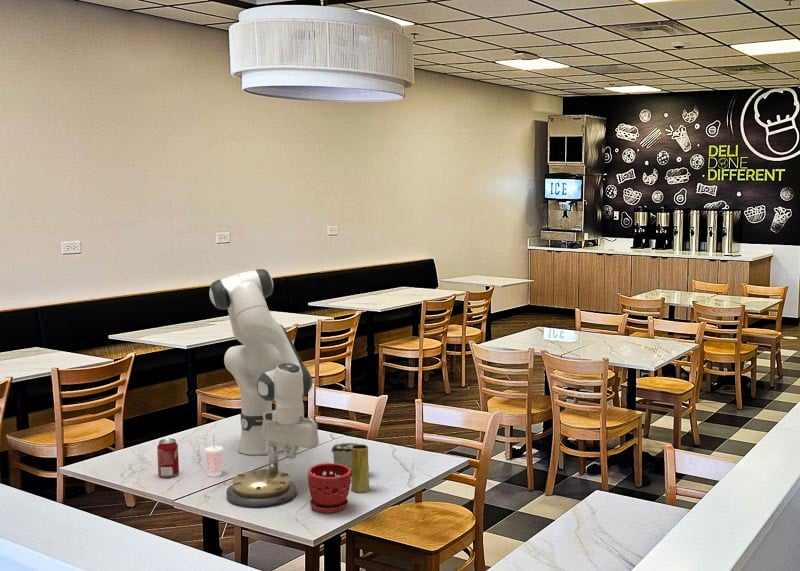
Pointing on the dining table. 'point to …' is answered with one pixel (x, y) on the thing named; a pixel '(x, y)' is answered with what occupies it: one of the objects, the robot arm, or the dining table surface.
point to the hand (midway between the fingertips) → (290, 457)
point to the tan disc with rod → (263, 479)
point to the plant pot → (329, 487)
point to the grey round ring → (261, 502)
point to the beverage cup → (214, 459)
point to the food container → (343, 455)
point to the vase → (360, 469)
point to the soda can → (168, 458)
